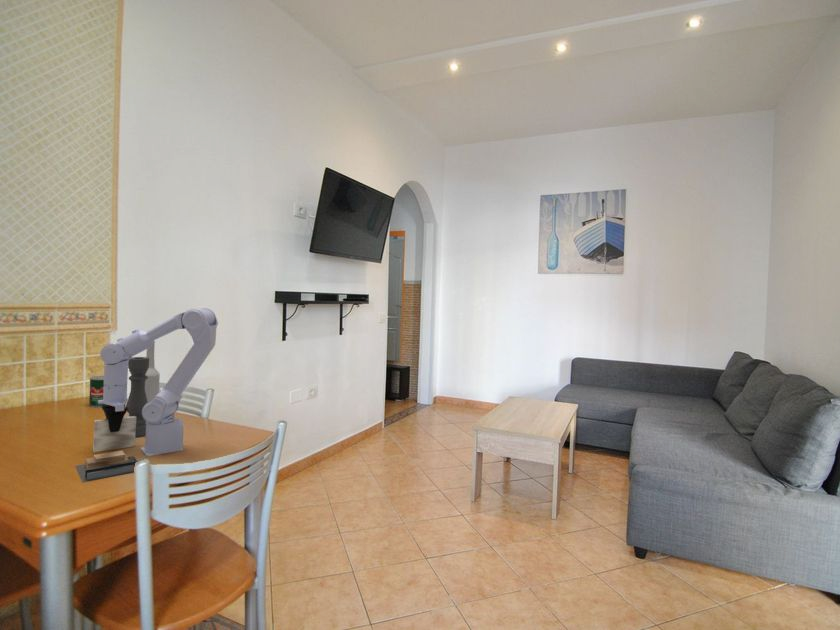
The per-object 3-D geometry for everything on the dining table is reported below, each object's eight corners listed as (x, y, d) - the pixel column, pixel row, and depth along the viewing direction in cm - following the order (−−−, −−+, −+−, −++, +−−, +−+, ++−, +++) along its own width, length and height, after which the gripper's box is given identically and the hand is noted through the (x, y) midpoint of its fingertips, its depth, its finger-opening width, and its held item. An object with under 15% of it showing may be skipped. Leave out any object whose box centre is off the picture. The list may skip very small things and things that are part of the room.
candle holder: (136, 439, 141) (139, 360, 140) (119, 437, 142) (122, 358, 141) (152, 434, 147) (154, 357, 146) (135, 431, 148) (138, 356, 148)
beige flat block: (133, 445, 135) (135, 416, 135) (134, 447, 134) (136, 417, 134) (92, 451, 128) (94, 420, 128) (93, 453, 127) (95, 421, 127)
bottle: (133, 418, 163) (135, 341, 162) (149, 414, 169) (152, 340, 169) (146, 420, 161) (149, 342, 160) (162, 416, 167) (165, 341, 167)
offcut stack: (125, 458, 124) (125, 449, 124) (128, 462, 121) (129, 454, 121) (84, 464, 118) (85, 455, 118) (87, 470, 115) (87, 461, 115)
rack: (133, 457, 126) (133, 450, 126) (144, 472, 117) (145, 464, 117) (75, 467, 117) (75, 459, 117) (82, 484, 108) (82, 475, 108)
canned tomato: (112, 402, 184) (113, 375, 184) (114, 406, 178) (115, 378, 178) (88, 404, 179) (89, 376, 179) (89, 408, 173) (90, 379, 173)
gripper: (94, 381, 133) (92, 426, 133) (103, 390, 123) (101, 439, 123) (122, 379, 138) (120, 423, 138) (133, 387, 127) (131, 435, 128)
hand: (113, 430), depth 131 cm, fingers closed on beige flat block, 1 cm apart
